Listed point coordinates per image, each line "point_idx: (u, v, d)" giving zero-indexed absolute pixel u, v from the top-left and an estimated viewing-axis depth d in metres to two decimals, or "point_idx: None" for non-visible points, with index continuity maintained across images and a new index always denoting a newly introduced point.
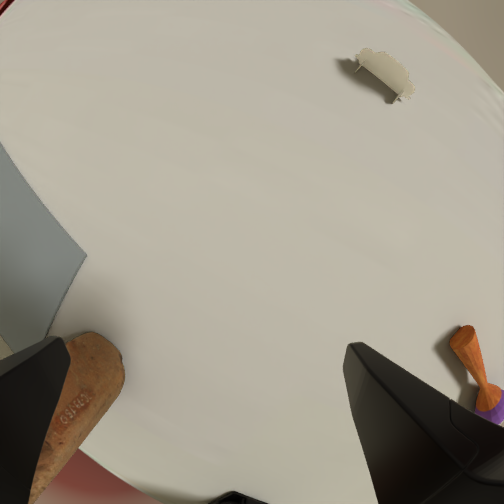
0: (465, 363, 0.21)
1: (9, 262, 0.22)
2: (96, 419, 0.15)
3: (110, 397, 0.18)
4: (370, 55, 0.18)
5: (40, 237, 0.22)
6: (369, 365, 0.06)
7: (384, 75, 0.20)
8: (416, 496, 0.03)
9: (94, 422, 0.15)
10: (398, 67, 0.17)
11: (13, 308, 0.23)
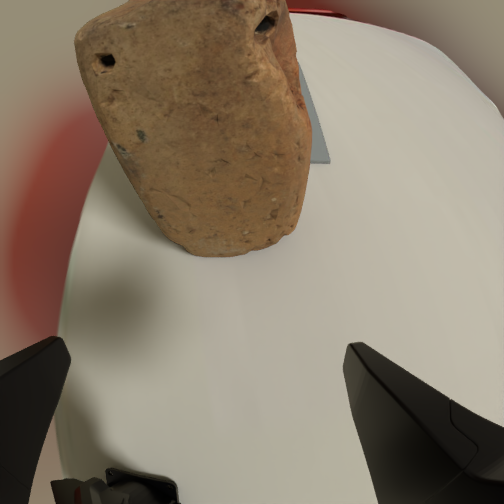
0: None
1: None
2: (292, 192, 0.15)
3: (292, 215, 0.18)
4: None
5: None
6: (369, 365, 0.06)
7: None
8: (417, 496, 0.03)
9: (291, 188, 0.15)
10: None
11: None
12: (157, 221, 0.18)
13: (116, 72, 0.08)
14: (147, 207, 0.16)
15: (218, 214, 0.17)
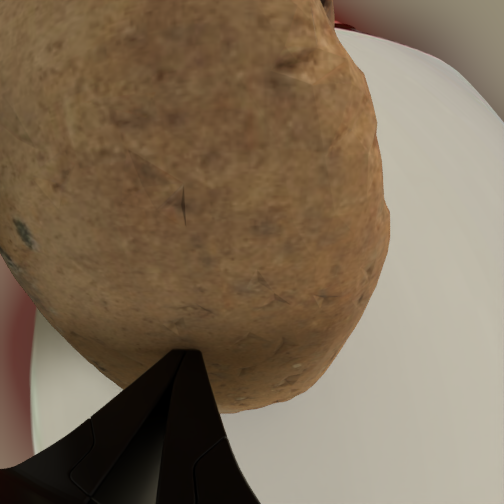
0: None
1: None
2: (330, 351, 0.08)
3: (318, 375, 0.10)
4: None
5: None
6: (178, 375, 0.06)
7: None
8: None
9: (331, 347, 0.08)
10: None
11: None
12: (100, 371, 0.09)
13: None
14: (79, 352, 0.08)
15: None
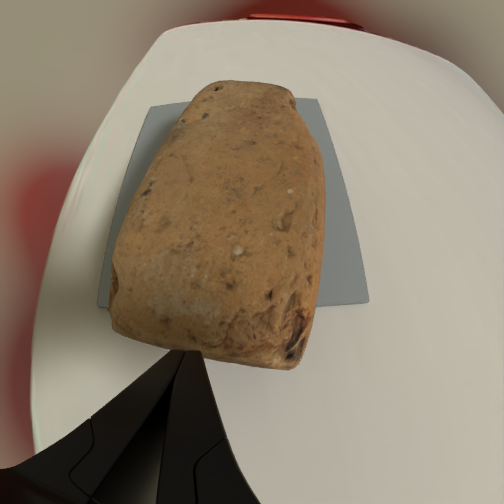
0: None
1: None
2: (310, 191, 0.14)
3: (310, 242, 0.13)
4: None
5: None
6: (178, 375, 0.06)
7: None
8: None
9: (309, 186, 0.14)
10: None
11: None
12: (133, 205, 0.13)
13: (219, 91, 0.18)
14: (143, 181, 0.14)
15: (216, 200, 0.13)
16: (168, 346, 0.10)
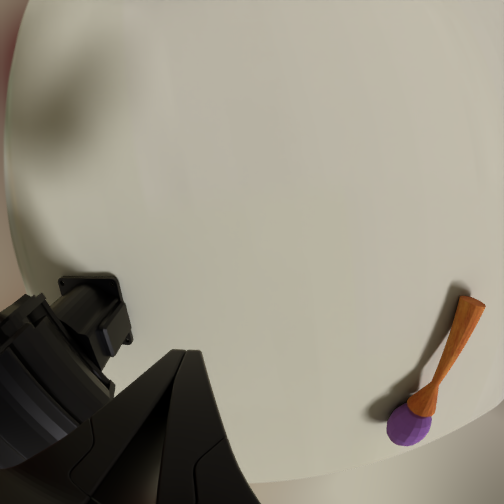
0: (457, 330, 0.21)
1: None
2: None
3: None
4: None
5: None
6: (179, 375, 0.06)
7: None
8: None
9: None
10: None
11: None
12: None
13: None
14: None
15: None
16: None
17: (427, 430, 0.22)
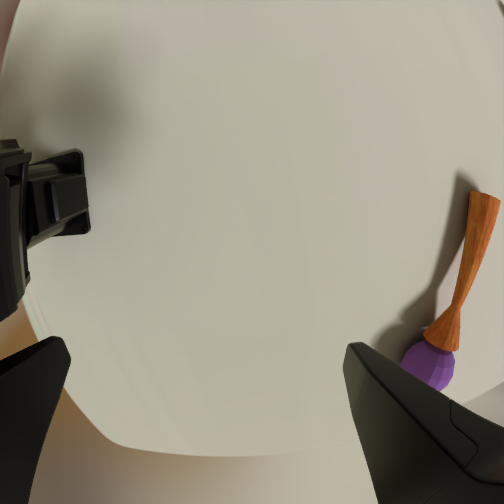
0: (474, 229, 0.17)
1: None
2: None
3: None
4: None
5: None
6: (369, 365, 0.06)
7: None
8: (416, 496, 0.03)
9: None
10: None
11: None
12: None
13: None
14: None
15: None
16: None
17: (451, 373, 0.19)
